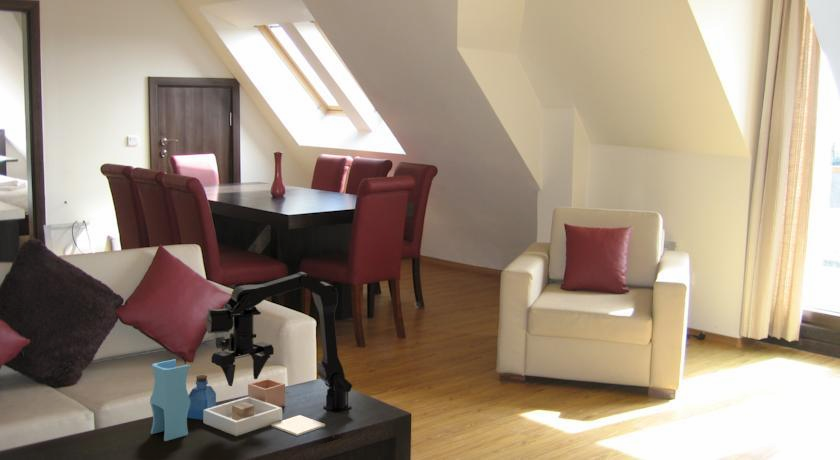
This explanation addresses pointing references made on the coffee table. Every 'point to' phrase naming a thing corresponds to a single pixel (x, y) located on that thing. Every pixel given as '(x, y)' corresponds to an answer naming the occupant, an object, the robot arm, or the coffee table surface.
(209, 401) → the perfume bottle
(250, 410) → the walnut block
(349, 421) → the coffee table surface
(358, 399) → the coffee table surface
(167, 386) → the vase
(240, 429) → the white bin
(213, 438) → the coffee table surface
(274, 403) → the terracotta pot
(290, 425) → the cream coaster
